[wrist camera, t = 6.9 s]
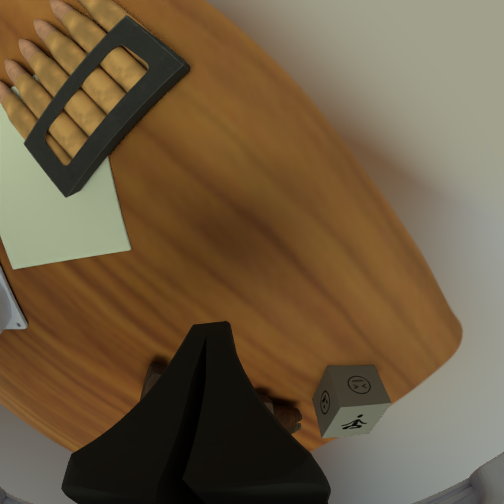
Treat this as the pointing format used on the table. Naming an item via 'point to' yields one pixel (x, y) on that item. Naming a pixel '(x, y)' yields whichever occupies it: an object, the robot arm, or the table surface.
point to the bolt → (282, 413)
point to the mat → (53, 208)
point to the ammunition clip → (86, 88)
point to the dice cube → (349, 400)
